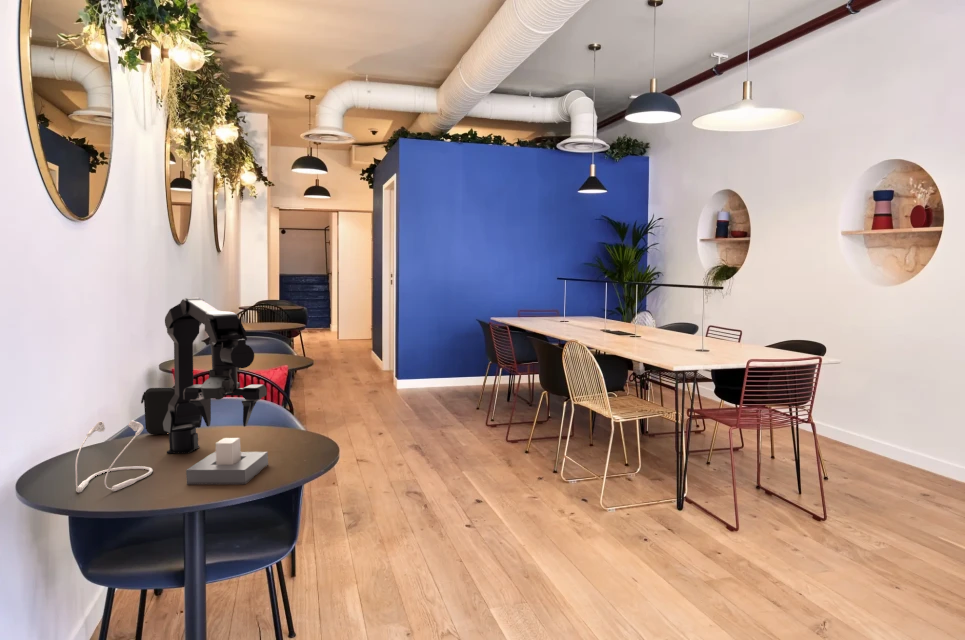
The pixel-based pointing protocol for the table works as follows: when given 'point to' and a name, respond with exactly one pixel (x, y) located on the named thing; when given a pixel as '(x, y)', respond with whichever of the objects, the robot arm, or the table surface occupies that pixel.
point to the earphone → (100, 427)
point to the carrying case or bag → (156, 408)
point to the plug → (228, 451)
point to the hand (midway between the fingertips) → (226, 426)
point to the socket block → (227, 469)
